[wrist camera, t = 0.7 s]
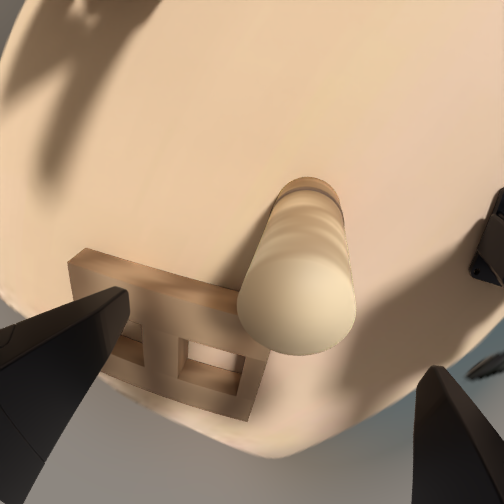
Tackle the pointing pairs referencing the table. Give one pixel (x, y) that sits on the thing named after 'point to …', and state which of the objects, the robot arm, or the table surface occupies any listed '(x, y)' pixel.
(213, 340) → the board
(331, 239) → the dowel
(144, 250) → the table surface
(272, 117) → the table surface
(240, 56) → the table surface
